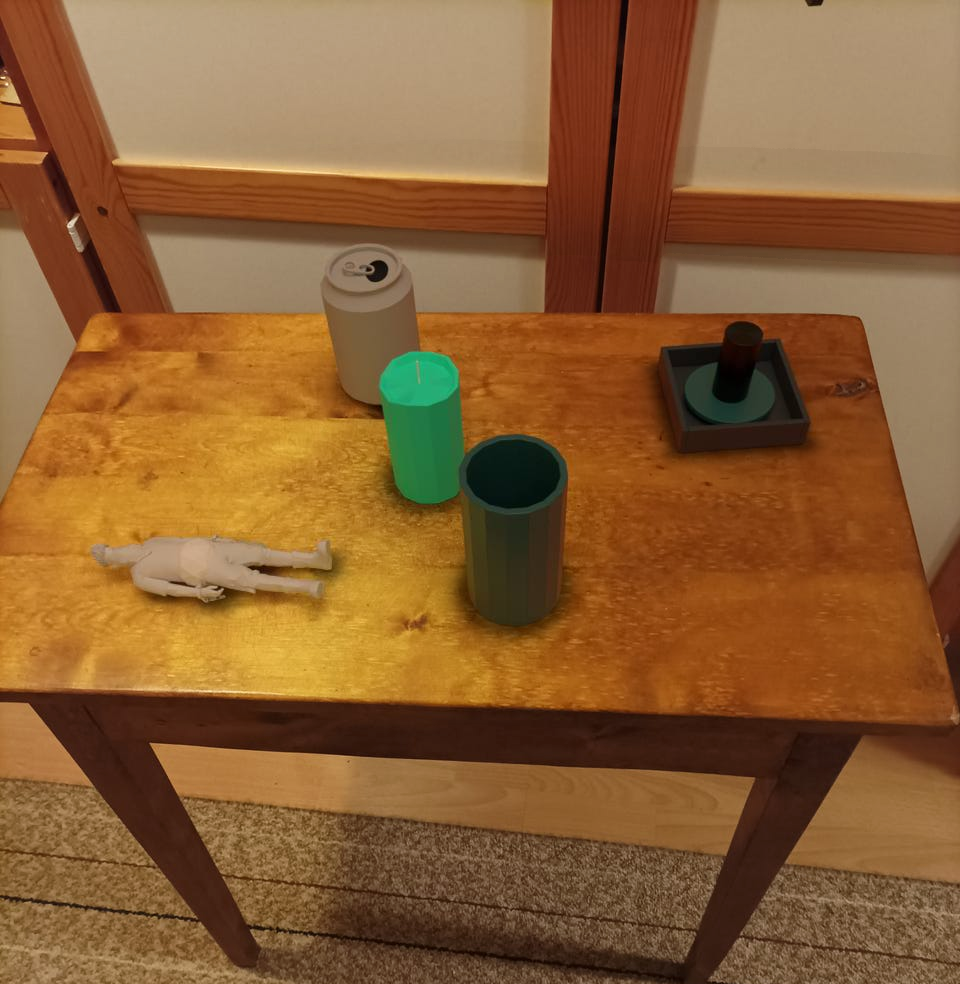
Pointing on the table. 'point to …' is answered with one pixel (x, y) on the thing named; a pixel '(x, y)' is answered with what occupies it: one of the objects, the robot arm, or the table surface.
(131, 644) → the table surface
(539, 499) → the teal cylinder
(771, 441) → the square tray
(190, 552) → the figurine
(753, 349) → the pan lid
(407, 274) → the can
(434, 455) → the candle
